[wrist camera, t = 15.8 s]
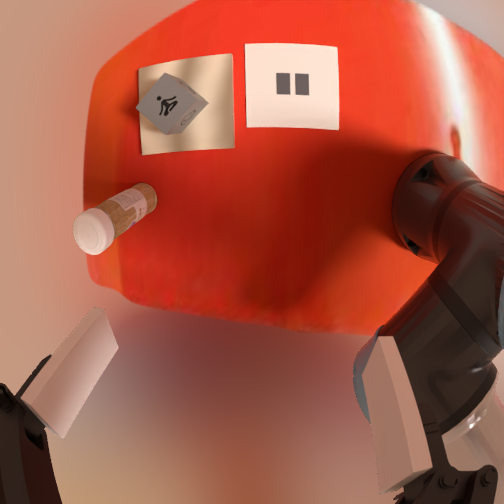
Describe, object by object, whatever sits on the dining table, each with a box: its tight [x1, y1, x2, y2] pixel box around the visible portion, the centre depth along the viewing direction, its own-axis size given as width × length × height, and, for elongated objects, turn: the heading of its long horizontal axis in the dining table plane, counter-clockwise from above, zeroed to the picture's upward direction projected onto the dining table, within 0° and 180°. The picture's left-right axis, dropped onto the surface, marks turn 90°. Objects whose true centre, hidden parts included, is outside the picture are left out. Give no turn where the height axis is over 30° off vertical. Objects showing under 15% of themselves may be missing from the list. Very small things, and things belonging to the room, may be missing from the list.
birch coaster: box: [139, 54, 235, 155], centre depth 29 cm, size 12×12×1 cm
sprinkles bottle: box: [73, 183, 157, 255], centre depth 29 cm, size 5×5×14 cm
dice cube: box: [136, 73, 209, 135], centre depth 26 cm, size 5×5×5 cm
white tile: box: [245, 43, 339, 130], centre depth 27 cm, size 11×11×1 cm
